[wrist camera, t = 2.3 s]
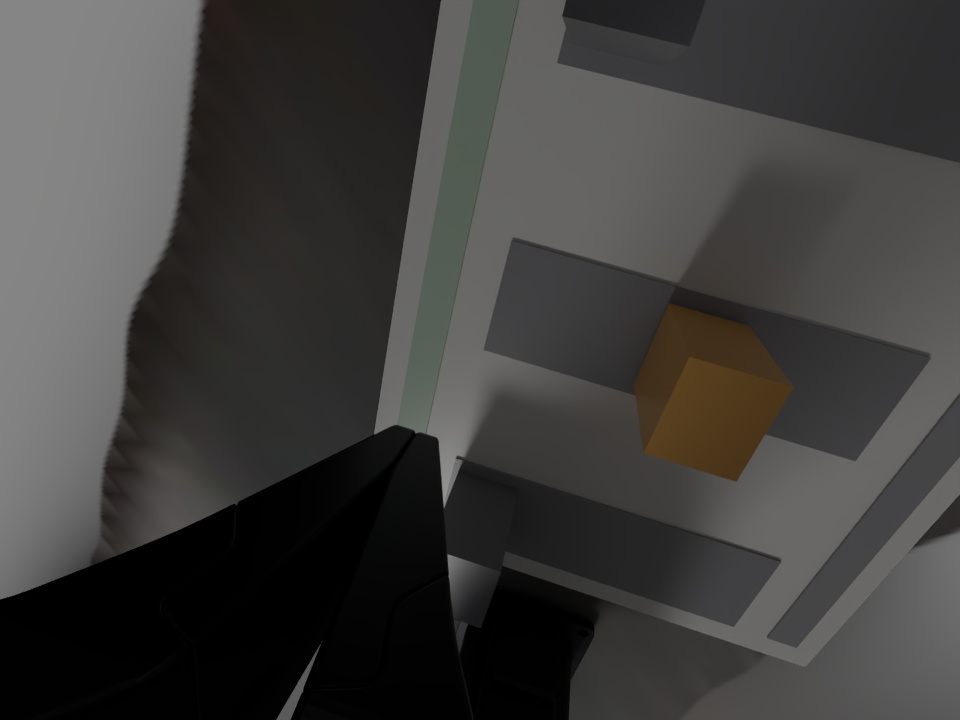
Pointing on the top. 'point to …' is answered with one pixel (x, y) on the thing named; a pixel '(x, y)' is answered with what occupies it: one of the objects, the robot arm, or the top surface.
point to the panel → (685, 296)
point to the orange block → (707, 392)
